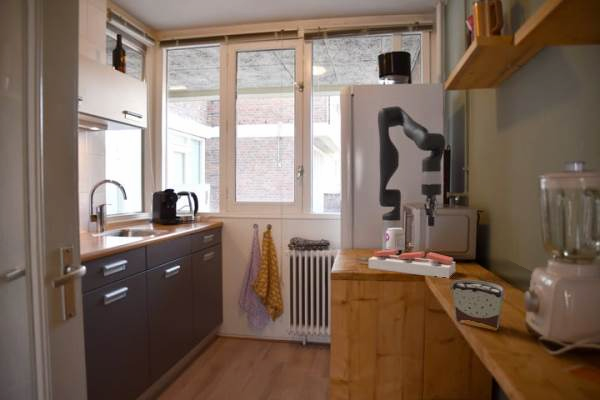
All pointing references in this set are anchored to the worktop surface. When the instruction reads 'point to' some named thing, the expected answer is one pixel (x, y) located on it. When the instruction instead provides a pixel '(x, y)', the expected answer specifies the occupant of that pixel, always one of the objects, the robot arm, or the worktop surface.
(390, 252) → the rocker
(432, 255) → the rocker
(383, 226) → the robot arm
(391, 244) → the supplement can
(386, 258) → the power strip
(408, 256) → the rocker middle
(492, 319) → the food container
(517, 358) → the worktop surface
